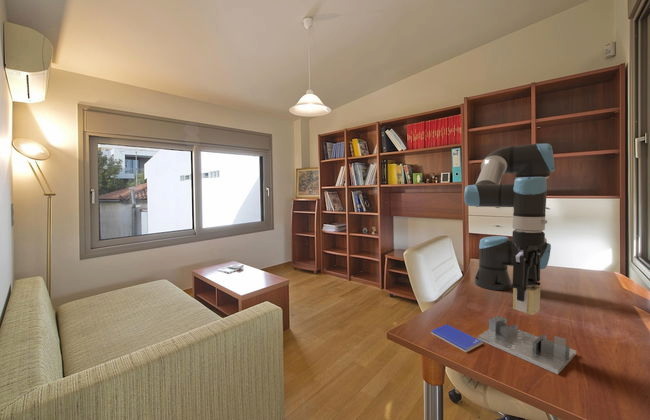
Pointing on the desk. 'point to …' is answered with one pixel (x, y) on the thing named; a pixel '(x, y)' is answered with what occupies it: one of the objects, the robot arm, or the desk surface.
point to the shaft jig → (528, 345)
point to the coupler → (530, 299)
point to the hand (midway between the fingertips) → (525, 308)
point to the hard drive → (456, 338)
